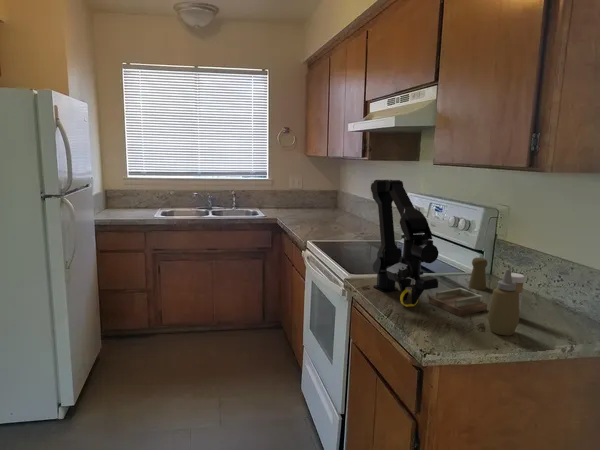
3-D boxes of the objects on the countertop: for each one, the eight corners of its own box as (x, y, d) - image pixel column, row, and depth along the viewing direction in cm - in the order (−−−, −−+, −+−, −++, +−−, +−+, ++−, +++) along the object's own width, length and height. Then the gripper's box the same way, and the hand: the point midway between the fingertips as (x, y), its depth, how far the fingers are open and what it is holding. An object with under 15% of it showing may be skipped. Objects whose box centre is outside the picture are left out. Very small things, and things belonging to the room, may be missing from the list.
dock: (428, 302, 147) (429, 290, 147) (455, 297, 153) (456, 286, 152) (459, 316, 136) (460, 303, 135) (486, 310, 142) (487, 297, 141)
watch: (403, 309, 142) (403, 291, 141) (398, 305, 145) (398, 288, 143) (419, 306, 144) (419, 288, 142) (415, 303, 146) (415, 285, 145)
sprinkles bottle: (500, 314, 138) (504, 272, 136) (514, 314, 138) (519, 272, 136) (508, 320, 134) (513, 277, 131) (523, 320, 134) (528, 276, 132)
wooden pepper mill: (486, 290, 160) (489, 261, 158) (468, 288, 162) (471, 259, 160) (485, 285, 166) (488, 257, 164) (468, 283, 168) (470, 255, 166)
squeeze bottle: (523, 337, 122) (531, 274, 118) (495, 338, 121) (501, 274, 118) (507, 325, 130) (514, 265, 126) (480, 326, 129) (486, 265, 126)
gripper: (373, 250, 145) (371, 296, 148) (412, 265, 129) (409, 316, 132) (400, 247, 151) (397, 292, 153) (441, 261, 134) (437, 310, 137)
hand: (409, 302), depth 144 cm, fingers open, 4 cm apart
